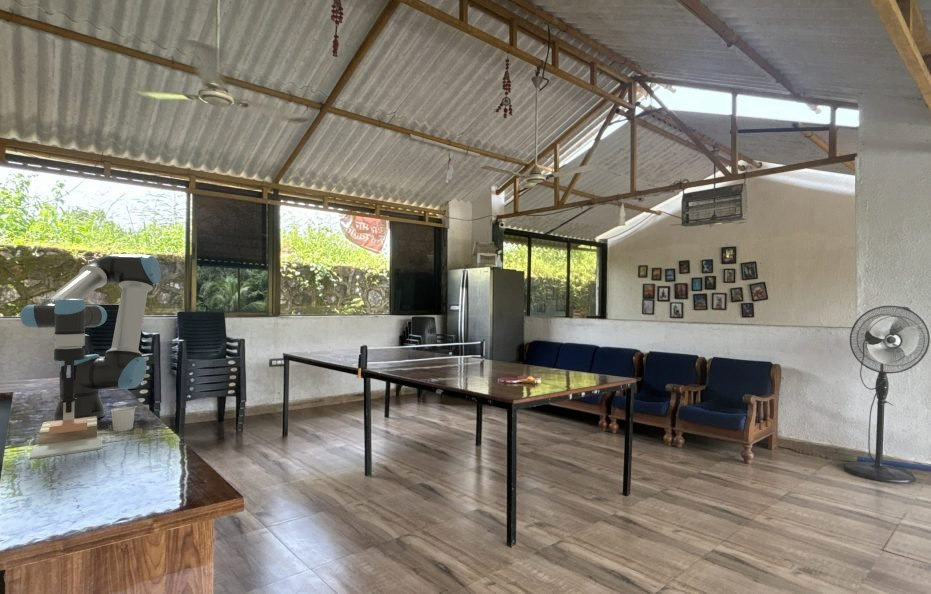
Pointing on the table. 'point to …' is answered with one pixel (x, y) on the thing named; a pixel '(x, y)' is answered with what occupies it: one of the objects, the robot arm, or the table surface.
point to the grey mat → (66, 447)
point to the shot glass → (122, 418)
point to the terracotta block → (68, 426)
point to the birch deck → (67, 436)
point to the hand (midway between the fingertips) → (68, 422)
